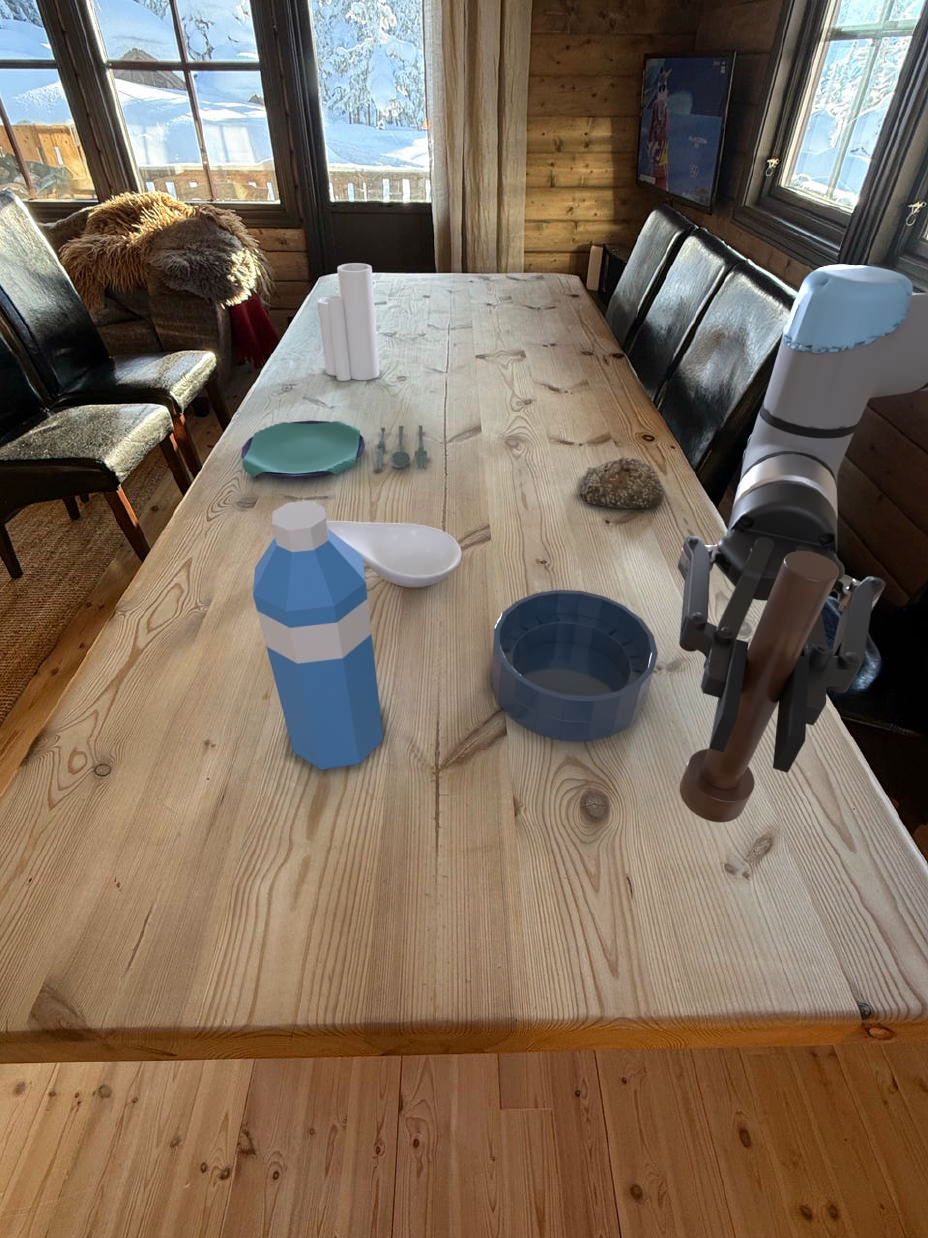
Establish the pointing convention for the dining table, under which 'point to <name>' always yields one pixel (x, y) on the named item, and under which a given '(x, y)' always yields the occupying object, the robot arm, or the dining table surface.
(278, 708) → the dining table surface
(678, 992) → the dining table surface
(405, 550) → the spoon rest
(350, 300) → the vase
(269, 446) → the cutlery set
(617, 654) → the bowl
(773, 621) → the pestle
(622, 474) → the bread roll
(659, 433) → the dining table surface
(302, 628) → the water bottle
